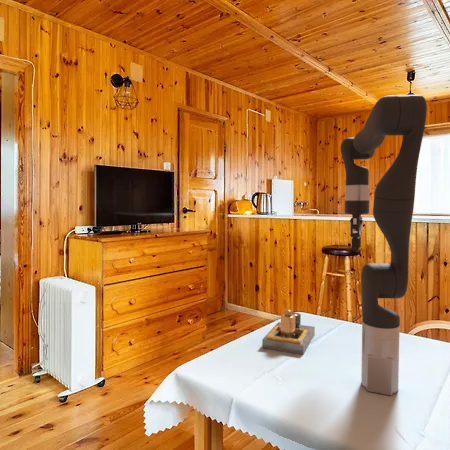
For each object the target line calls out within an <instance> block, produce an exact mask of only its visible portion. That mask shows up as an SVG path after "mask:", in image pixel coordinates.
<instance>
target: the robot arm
mask: <svg viewBox="0 0 450 450" xmlns="http://www.w3.org/2000/svg"><path fill="white" fill-rule="evenodd" d="M427 113H428V106H427V100H426V98H425V97H424V96H423V95H421V94H396V95H395V94H392V95H391V94H390V95H385V96H382V97H380V98H379V99H378V100H377V102H376V103H375V104H374V105H373V107H372V109H371V111H370V113H369V115H368V117H367V119H366V121H365V123H364V126H363V127H362V128H361V129H360V130H359V131H358V133H357V134H356V135H355V136H354V137H345V138H344V139H343V140H342V142H341V144H340V154H341V158H342V161H343V165H344V169H345V189H344V214H346V215H352V216H351V217H350V220H349V225H350V226H349V233H350V235H349V236H350V239H351V250H352V251H354V252H355V251H356V252H357V251H359V250H360V248H361V247H362V245H361V244H362V236H363V235H362V234H363V229H364V228H363V227H364V226H363V225H364V219H363V217H362V215H368V214H369V213H370V187H369V184H370V183H369V182H370V181H369V180H370V177H369V176H370V171H369V169H368V167H366V166H361V165H357V164H356V163H355V161H356V160H357V161H358V160H370V159H372V158H373V157H374V155H375V153H376V152H375V151H376V150H377V148H379V147H380V146H381V145H382V144H383V143H384V140H385V137H386V136H391V137H393V136H402V142H401V145H400V148H399V151H398V153H397V155H396V158H395V160H393V162H392V164H391V165H390V167H389V168H388V169H387V170H386V172H385V173H384V174H383V176H382V177H380V180H378V183H377V185H376V186H375V190H374V196H373V208H372V215H373V218H374V220H375V223H376V225H377V226H378V228H379V230H380V231H381V233H382V234H383V236H384V238H385V240H386V242H387V244H388V247H389V249H390V250H389V251H390V262H389V263H385V262H384V263H383V262H382V263H379V262H375V263H373V262H372V263H365V264H364V265H363V267H362V269H361V271H360V285H361V286H360V288H361V290H360V291H361V313H362V314H361V316H362V318H361V319H362V320H361V324H362V327H361V328H362V329H361V377H360V378H361V386H362V387H364V388H365V389H366V390H365V391H366V392H371V393H375V394H382V395H387V396H393V394H395V393H397V392H398V391H399V377H400V376H399V375H400V374H399V373H400V372H399V371H400V370H399V369H400V368H399V367H400V330H401V329H400V327H401V326H400V325H401V319H400V315H399V314H398V312H396V311H394V310H392V309H390V308H386V307H383V306H381V305H380V304H379V299H401V298H403V297H404V296H405V295H406V294H407V291H408V286H409V285H408V284H409V257H410V255H409V253H410V239H411V237H410V236H411V228H412V222H413V220H412V219H413V214H414V209H415V207H414V206H415V197H416V185H417V184H416V181H417V172H418V165H419V159H420V158H419V157H420V154H421V153H420V152H421V147H422V144H423V137H424V133H425V128H426V123H427Z"/></svg>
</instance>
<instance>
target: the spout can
mask: <svg viewBox="0 0 450 450" xmlns="http://www.w3.org/2000/svg"><path fill="white" fill-rule="evenodd" d="M292 312H293V310H292V309H289V308H288V309H284V313H283V314H280V322H281V337H285V338H292V339H295V315H292Z"/></svg>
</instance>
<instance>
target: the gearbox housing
mask: <svg viewBox="0 0 450 450" xmlns="http://www.w3.org/2000/svg"><path fill="white" fill-rule="evenodd" d="M292 315H295V339H292V338H285V337H281V321H278V322H277V323H276V324H275V325H274V326H273V327H272V328H271V329H270V330H269V331H268V332H267V334H265V336H264V337H263V338H262V341H261V342H262V343H261V347H262V349H266V350H271V351H278V352H284V353H290V354H297V355H305V352H306V351H307V349H308V347H309V346H310V344H311V342H312V340H313V338H314V337H315V327H316V326H311V325H310V326H309V325H304V324H301V323H302V322H301V313H299V312H293V311H292Z"/></svg>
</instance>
